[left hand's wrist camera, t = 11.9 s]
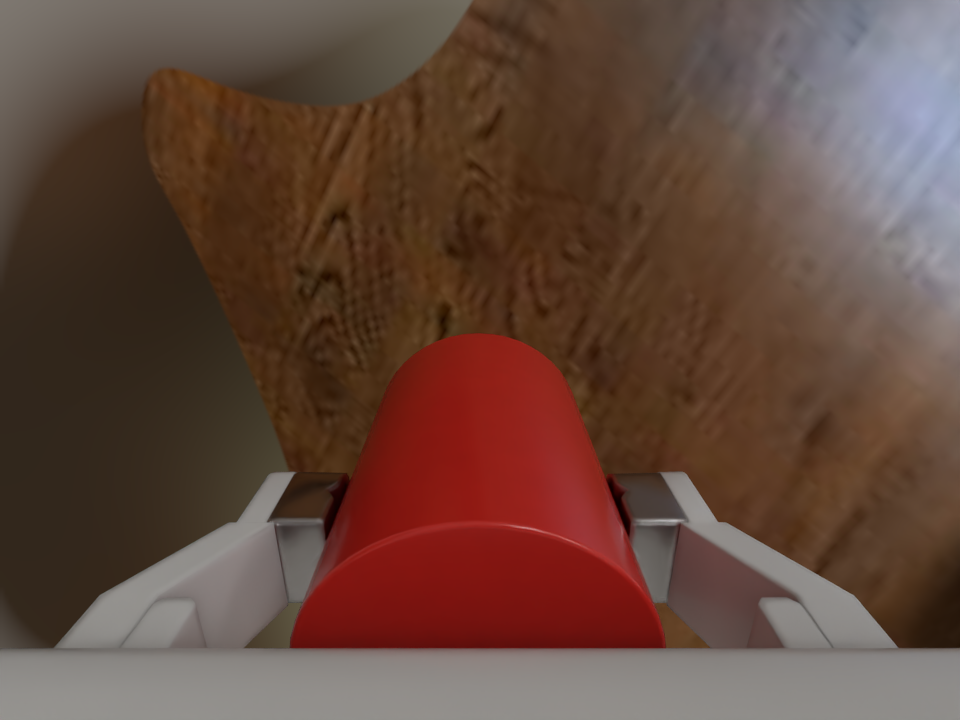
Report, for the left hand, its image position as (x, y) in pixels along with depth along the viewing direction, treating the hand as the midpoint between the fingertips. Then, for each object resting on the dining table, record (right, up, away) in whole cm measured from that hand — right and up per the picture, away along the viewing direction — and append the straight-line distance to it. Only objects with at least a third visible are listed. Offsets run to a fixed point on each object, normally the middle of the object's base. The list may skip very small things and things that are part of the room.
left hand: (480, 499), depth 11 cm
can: (0, +1, +3) cm, 3 cm away
